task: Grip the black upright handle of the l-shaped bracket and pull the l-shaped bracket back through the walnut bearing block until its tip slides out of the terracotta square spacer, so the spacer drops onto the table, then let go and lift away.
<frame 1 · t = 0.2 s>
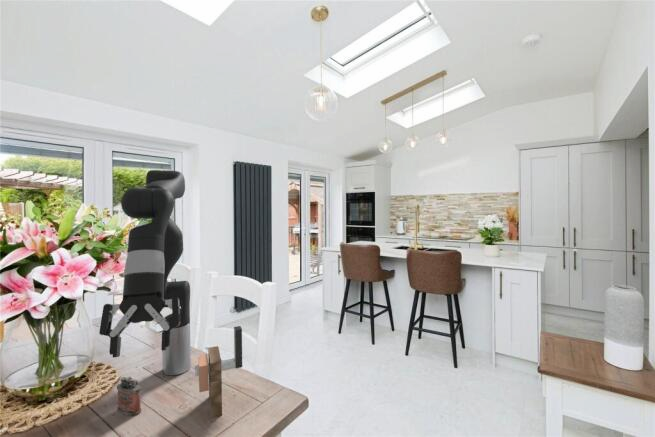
hand: (140, 353, 63), 31 cm above the table, tool tilted 20°, fingers open, 8 cm apart
spacer: (203, 384, 94), point 7 cm above the table, touching l-shaped bracket
l-shaped bracket: (218, 350, 96), point 17 cm above the table, slide at 0.0 cm, touching spacer
bearing block: (215, 405, 96), on the table
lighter: (129, 411, 93), on the table
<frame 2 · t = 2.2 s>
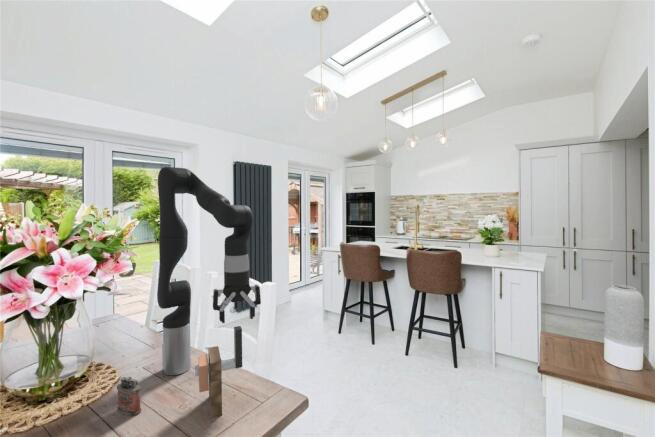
hand: (237, 320, 98), 25 cm above the table, tool pointing down, fingers open, 8 cm apart
nothing on the table moved.
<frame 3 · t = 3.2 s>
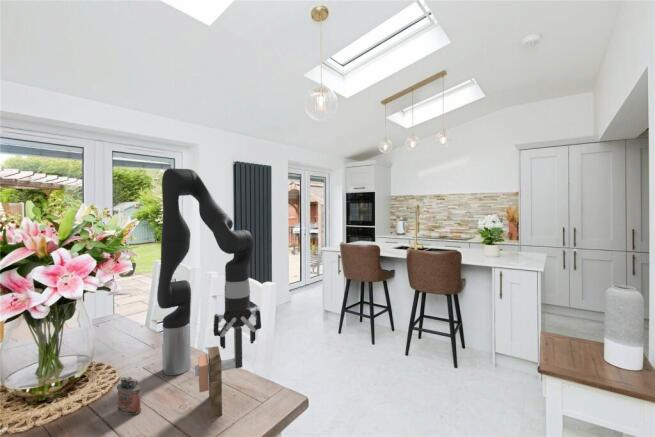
hand: (237, 345, 98), 18 cm above the table, tool pointing down, fingers open, 8 cm apart
nothing on the table moved.
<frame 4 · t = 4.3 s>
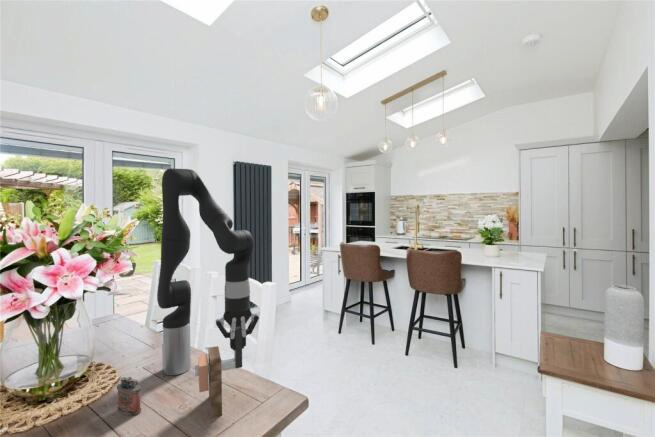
hand: (238, 348, 98), 17 cm above the table, tool pointing down, fingers closed on l-shaped bracket, 2 cm apart
l-shaped bracket: (218, 350, 96), point 17 cm above the table, slide at 0.0 cm, touching gripper, spacer
everything else where it was.
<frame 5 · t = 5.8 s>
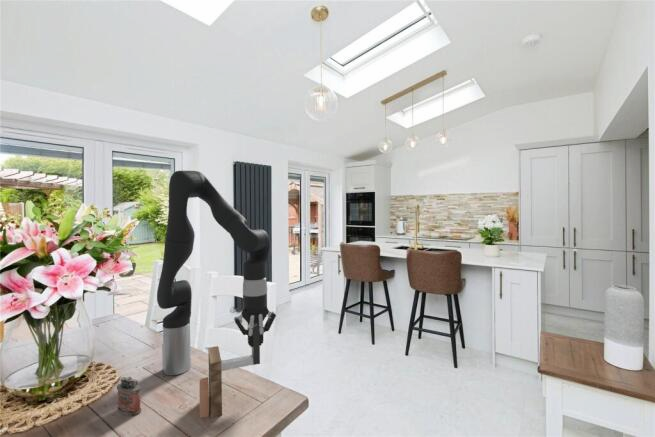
hand: (255, 345, 100), 17 cm above the table, tool pointing down, fingers closed on l-shaped bracket, 2 cm apart
spacer: (204, 408, 94), on the table
l-shaped bracket: (237, 347, 98), point 17 cm above the table, slide at 5.5 cm, touching gripper
everything else where it was.
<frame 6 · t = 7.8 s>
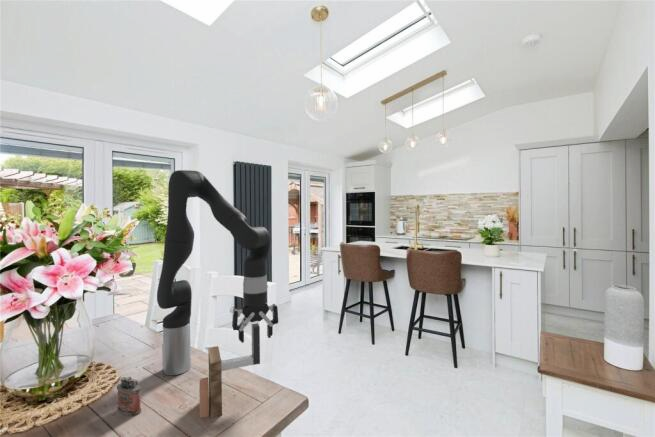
hand: (255, 339, 100), 18 cm above the table, tool pointing down, fingers open, 8 cm apart
l-shaped bracket: (237, 347, 98), point 17 cm above the table, slide at 5.5 cm
everything else where it was.
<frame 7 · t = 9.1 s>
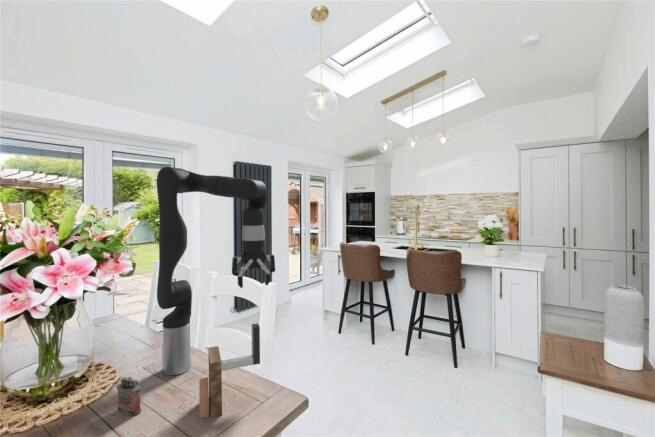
hand: (254, 285, 106), 34 cm above the table, tool pointing down, fingers open, 8 cm apart
nothing on the table moved.
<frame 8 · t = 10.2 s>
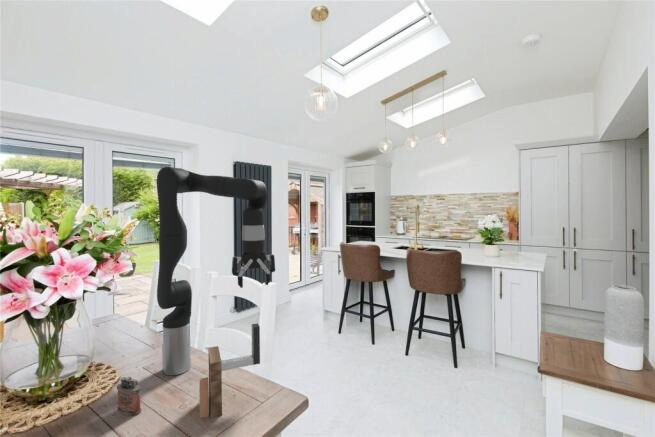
hand: (254, 285, 106), 34 cm above the table, tool pointing down, fingers open, 8 cm apart
nothing on the table moved.
at the end: l-shaped bracket slide at 5.5 cm; spacer on the table; spacer touching table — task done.
